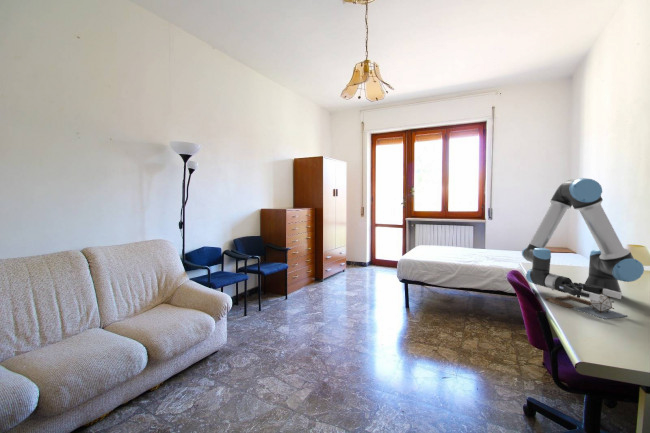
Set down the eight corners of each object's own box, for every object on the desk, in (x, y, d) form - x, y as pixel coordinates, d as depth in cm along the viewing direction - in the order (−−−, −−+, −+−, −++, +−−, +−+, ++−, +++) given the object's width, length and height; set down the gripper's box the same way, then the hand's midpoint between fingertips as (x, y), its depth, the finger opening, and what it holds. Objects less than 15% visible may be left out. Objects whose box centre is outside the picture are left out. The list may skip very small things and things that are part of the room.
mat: (595, 306, 140) (595, 305, 140) (627, 316, 129) (627, 315, 129) (573, 308, 136) (573, 308, 136) (604, 319, 125) (604, 318, 125)
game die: (605, 321, 131) (624, 308, 125) (585, 312, 133) (603, 299, 126) (598, 305, 138) (616, 292, 132) (579, 297, 139) (596, 284, 133)
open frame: (569, 297, 152) (569, 295, 152) (594, 305, 142) (594, 302, 141) (545, 300, 148) (545, 297, 147) (569, 308, 137) (569, 305, 137)
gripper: (576, 289, 153) (628, 303, 133) (539, 292, 146) (588, 307, 126) (577, 274, 153) (630, 286, 132) (540, 277, 146) (589, 290, 125)
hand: (610, 297), depth 129 cm, fingers open, 13 cm apart
